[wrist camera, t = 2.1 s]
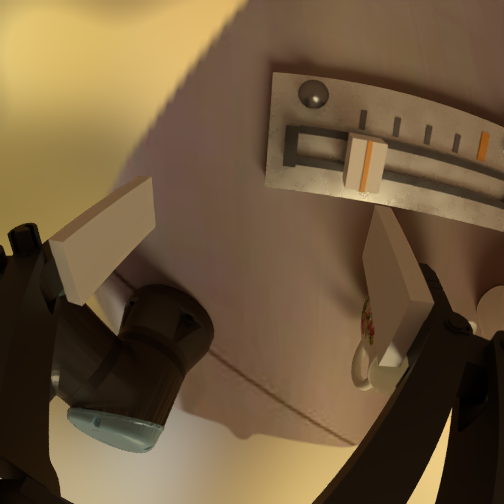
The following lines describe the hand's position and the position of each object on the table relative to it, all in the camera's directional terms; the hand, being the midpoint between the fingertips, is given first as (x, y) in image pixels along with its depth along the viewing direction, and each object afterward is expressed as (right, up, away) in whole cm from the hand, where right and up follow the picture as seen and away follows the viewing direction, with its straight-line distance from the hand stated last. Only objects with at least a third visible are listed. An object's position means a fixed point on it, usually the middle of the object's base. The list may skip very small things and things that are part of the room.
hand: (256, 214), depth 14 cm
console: (+17, +9, +14) cm, 24 cm away
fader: (+10, +8, +14) cm, 19 cm away
